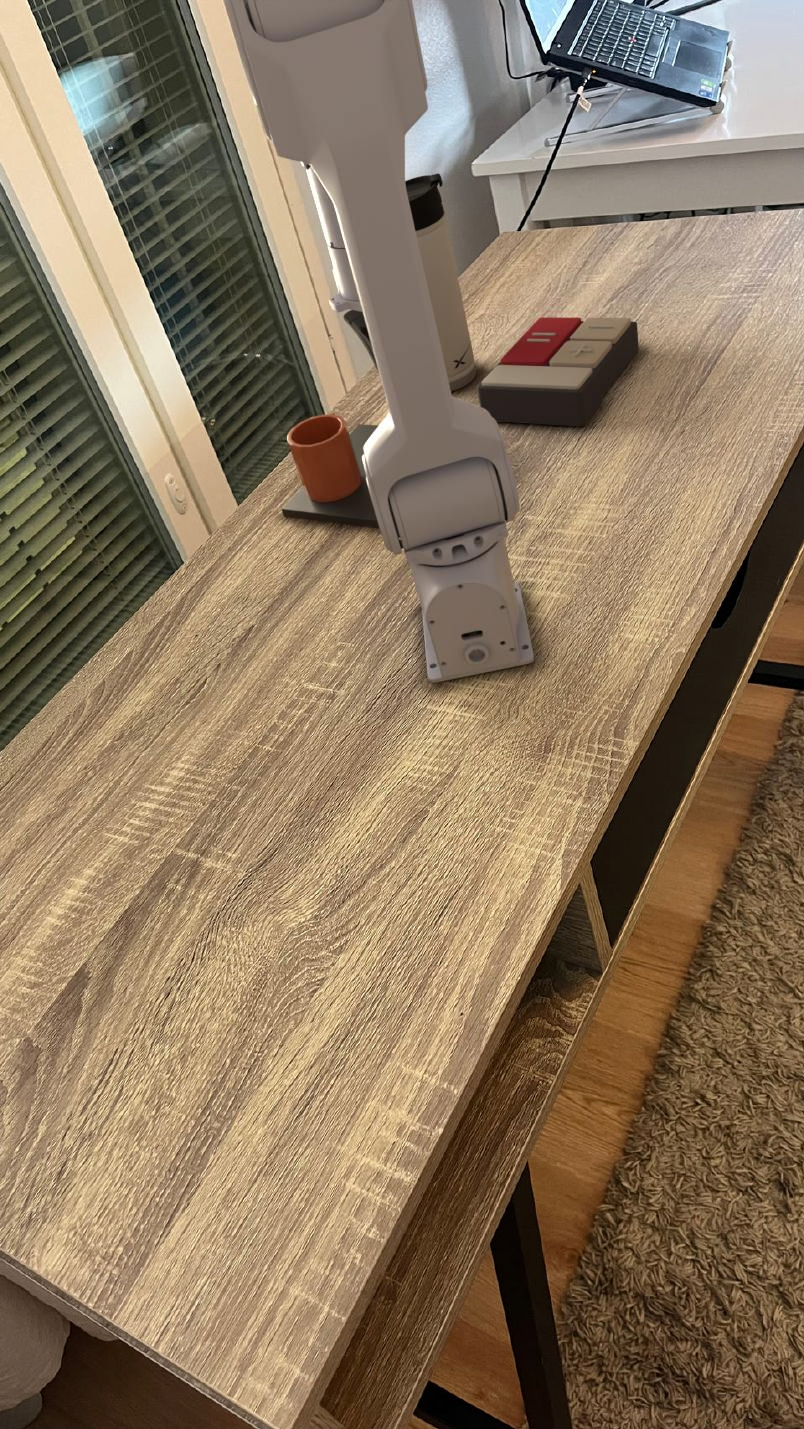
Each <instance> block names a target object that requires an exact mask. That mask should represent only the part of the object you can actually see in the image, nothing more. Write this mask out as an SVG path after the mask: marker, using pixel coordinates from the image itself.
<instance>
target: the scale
mask: <svg viewBox="0 0 804 1429" xmlns="http://www.w3.org/2000/svg"><path fill="white" fill-rule="evenodd" d="M378 426H379V425H375V424H361V423H359V424H358V425H357V426H355V428H354V429H353V430H352V431H351V432H349V435H350V438H351V442H352V445H353V448H354V452H355V455H356V458H357V461H358V465H359V468H360V473H361V476H362V482H361V484H360V486H359V487H358V489H357V490H356V491H354V492H353V493H352V494H350V495H348V496H347V497H345V498H342V499H339V500H336V501H332V502H316V501H313V500H311V499H310V498H309V497H308V496H307V494H306V491H305V490H304V487H303V485H302V486H300V488H299V489H298V490H297V491H296V492H295V494H293V496H292V497H290V499H289V500H288V501H287V502H286V503H285V504H284V506H283V507H282V508H281V512H282V515H283V517H285V518H291V519H301V520H308V521H318V522H325V523H333V524H340V525H341V524H342V525H351V526H358V527H367V528H375V529H380V527H379V524H378V521H377V517H376V514H375V510H374V507H373V503H372V500H371V496H370V492H369V489H368V485H367V481H366V477H367V476H366V472H365V469H364V465H363V461H362V456H363V454H364V450H363V447H364V445H365V443H366V442H367V440H368V439H369V438H370V436H371V435H372V434H373V432H374V431H375V430H376V429H377V427H378Z"/></svg>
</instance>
